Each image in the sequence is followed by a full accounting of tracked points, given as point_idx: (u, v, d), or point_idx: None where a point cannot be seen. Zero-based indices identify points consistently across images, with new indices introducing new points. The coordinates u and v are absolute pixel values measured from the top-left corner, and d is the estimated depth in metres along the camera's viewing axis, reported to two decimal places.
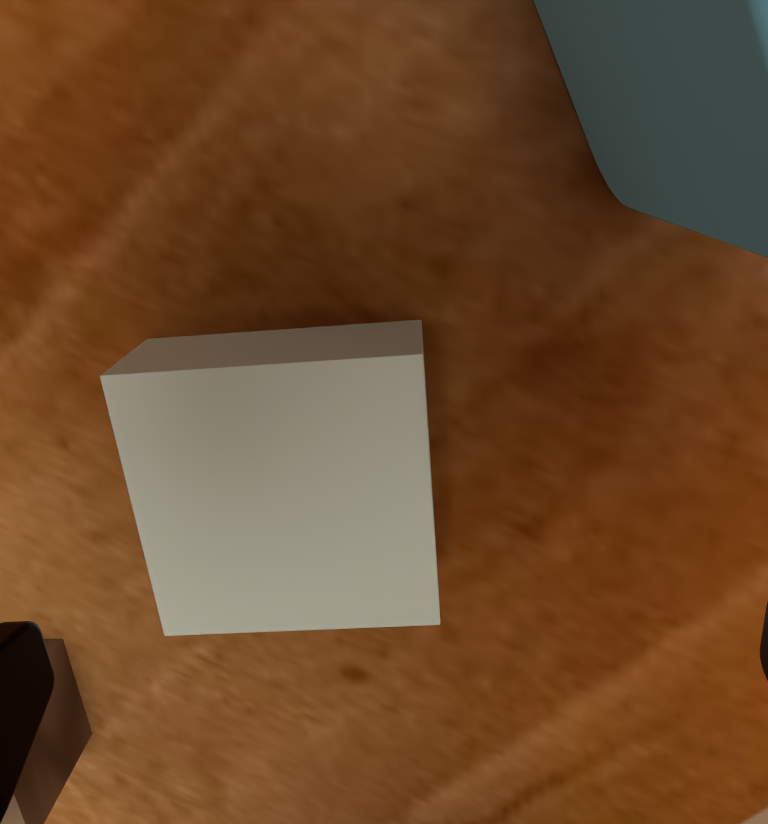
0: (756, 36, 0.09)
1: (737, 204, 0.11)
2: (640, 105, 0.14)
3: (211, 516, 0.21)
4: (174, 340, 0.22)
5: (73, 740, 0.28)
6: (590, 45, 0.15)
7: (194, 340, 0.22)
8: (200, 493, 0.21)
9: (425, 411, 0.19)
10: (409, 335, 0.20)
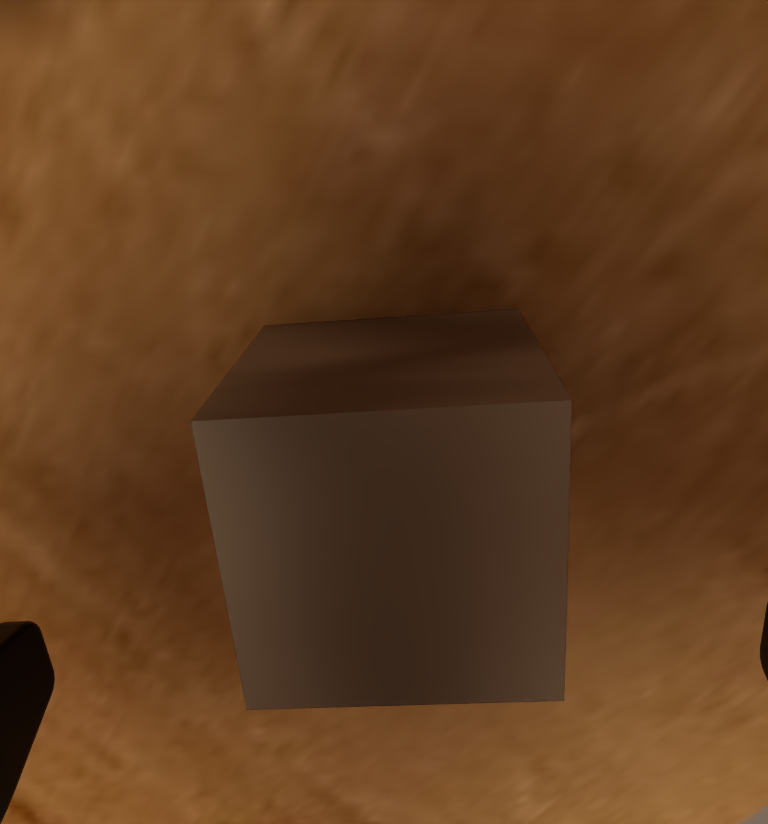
0: None
1: None
2: None
3: None
4: None
5: (474, 328, 0.12)
6: None
7: None
8: None
9: None
10: None
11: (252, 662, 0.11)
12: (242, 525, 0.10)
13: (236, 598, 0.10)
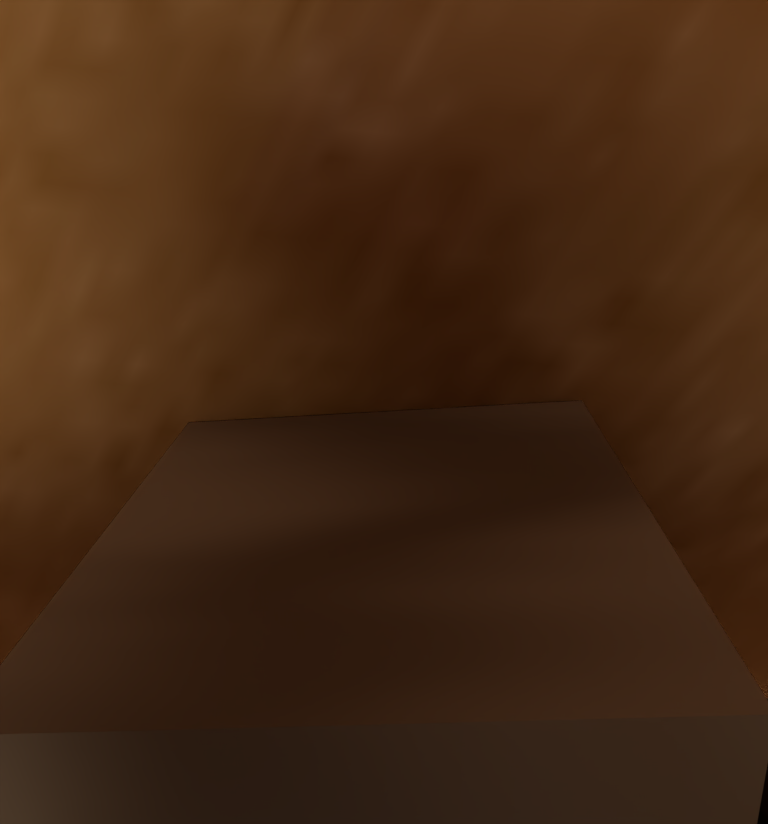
0: None
1: None
2: None
3: None
4: None
5: (520, 449, 0.07)
6: None
7: None
8: None
9: None
10: None
11: None
12: None
13: None
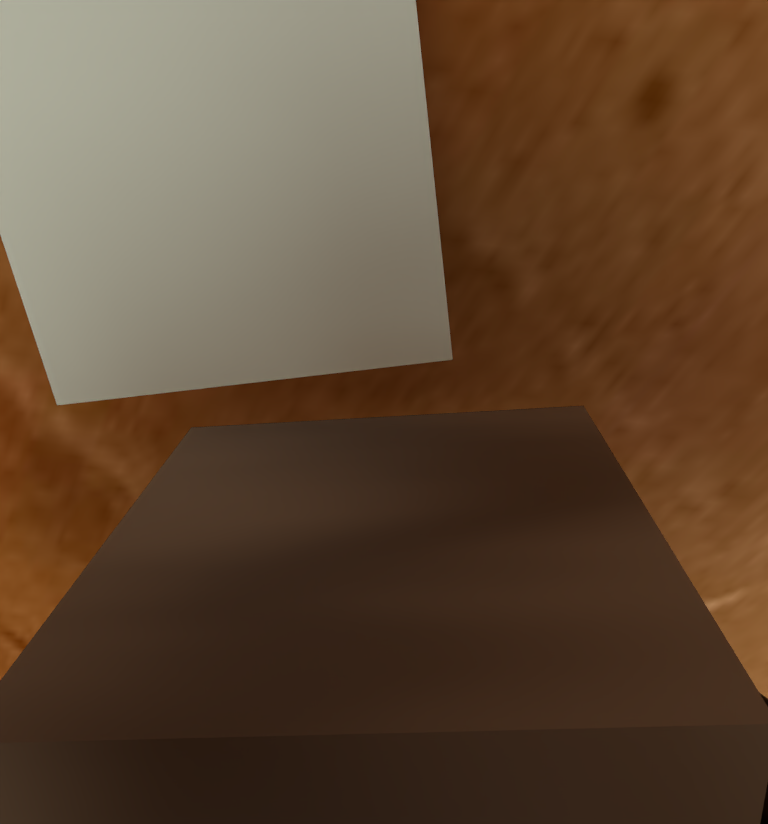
0: None
1: None
2: None
3: (233, 276, 0.14)
4: None
5: (522, 455, 0.07)
6: None
7: None
8: (199, 290, 0.15)
9: None
10: None
11: None
12: None
13: None
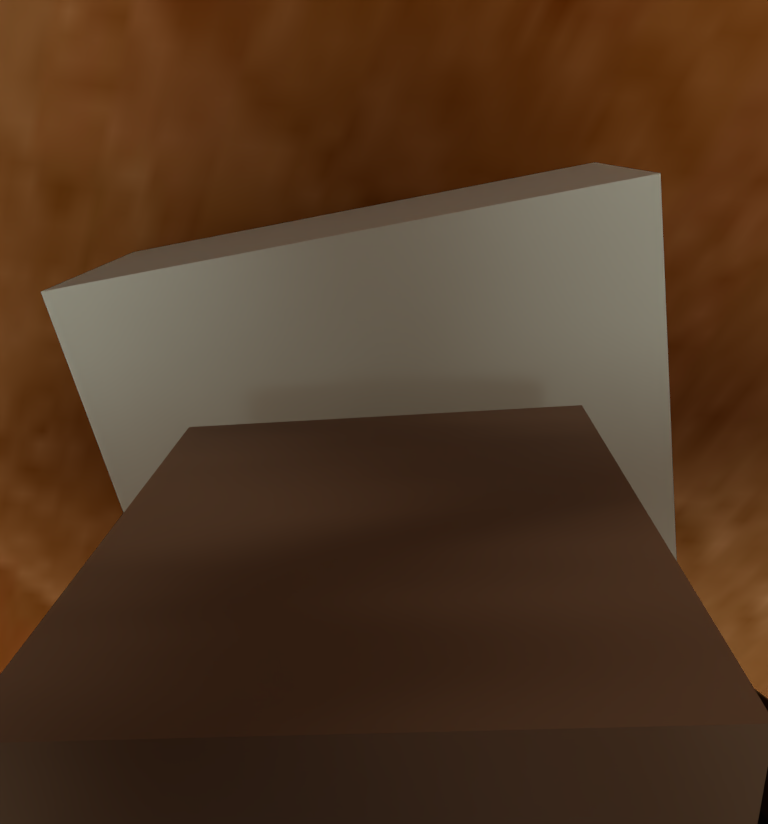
0: None
1: None
2: None
3: None
4: None
5: (520, 454, 0.07)
6: None
7: None
8: None
9: (147, 273, 0.10)
10: None
11: None
12: None
13: None
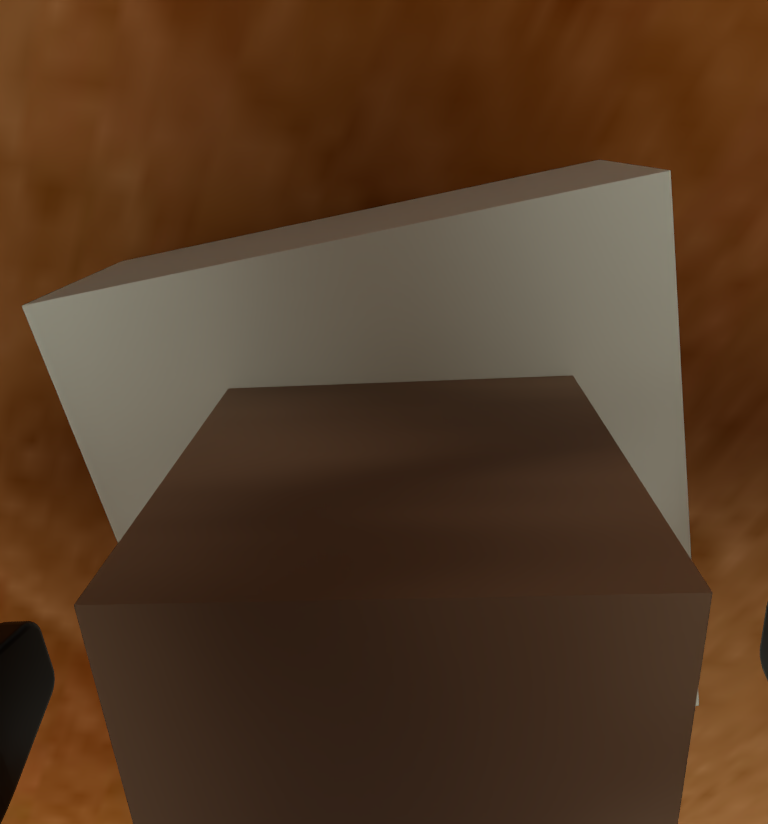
0: None
1: None
2: None
3: None
4: None
5: (519, 412, 0.09)
6: None
7: None
8: None
9: (132, 284, 0.10)
10: None
11: None
12: (164, 754, 0.06)
13: None
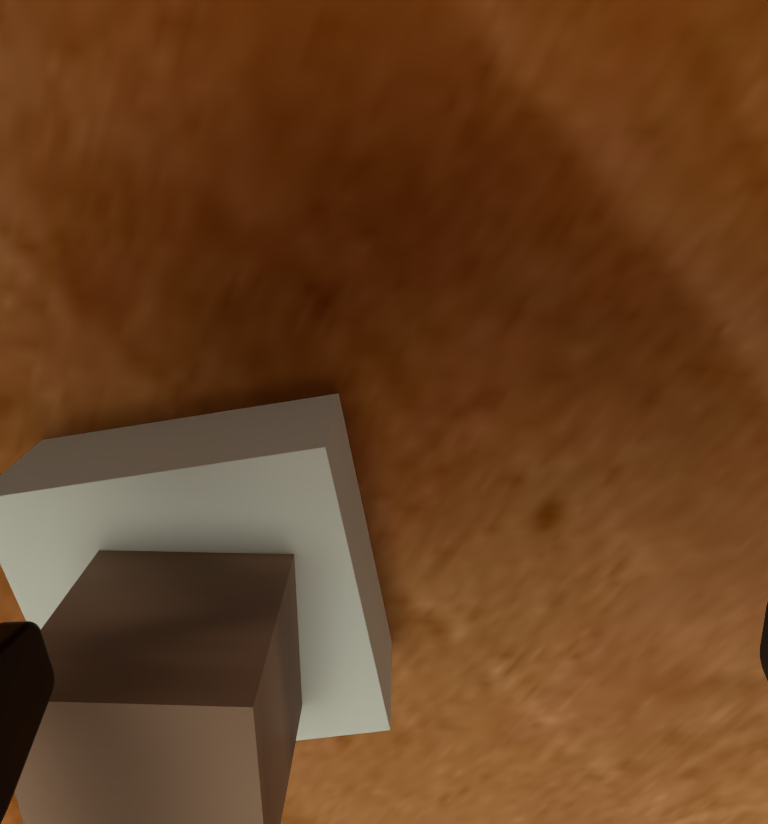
0: None
1: None
2: None
3: None
4: None
5: (245, 585, 0.16)
6: None
7: None
8: None
9: (35, 491, 0.17)
10: None
11: None
12: (29, 764, 0.14)
13: (27, 807, 0.14)
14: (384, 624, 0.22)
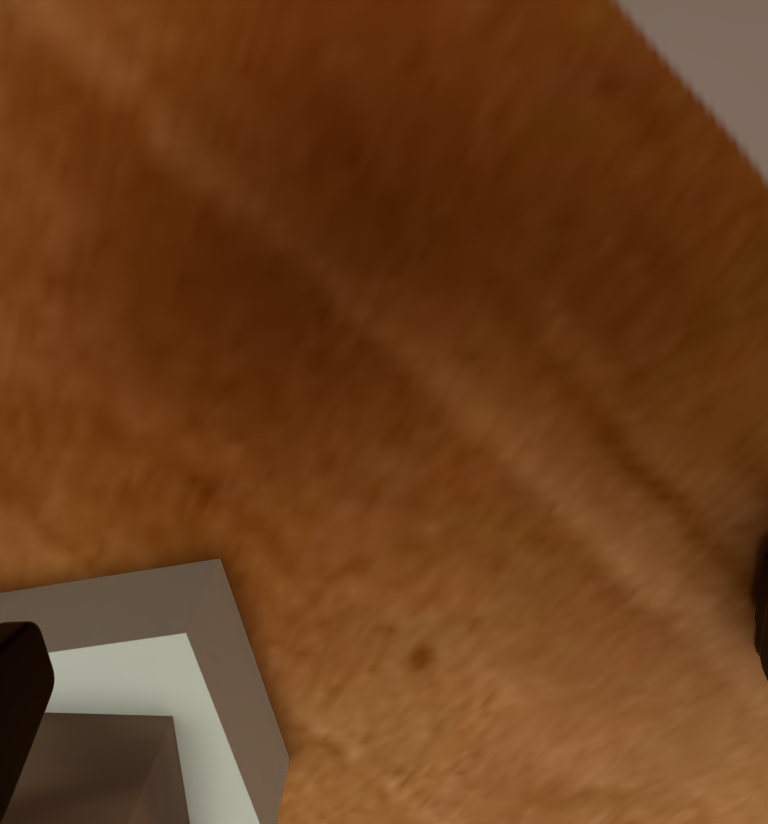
0: None
1: None
2: None
3: None
4: None
5: (124, 751, 0.19)
6: None
7: None
8: None
9: None
10: None
11: None
12: None
13: None
14: (276, 748, 0.25)
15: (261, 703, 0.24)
